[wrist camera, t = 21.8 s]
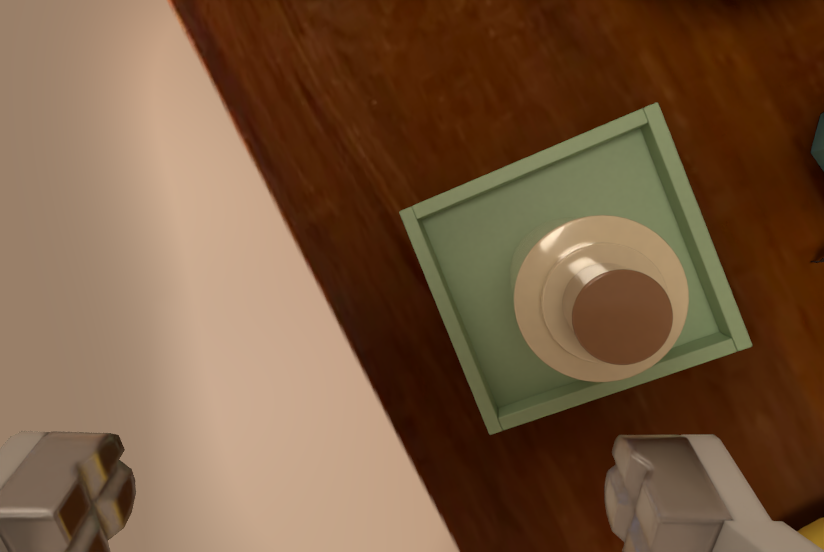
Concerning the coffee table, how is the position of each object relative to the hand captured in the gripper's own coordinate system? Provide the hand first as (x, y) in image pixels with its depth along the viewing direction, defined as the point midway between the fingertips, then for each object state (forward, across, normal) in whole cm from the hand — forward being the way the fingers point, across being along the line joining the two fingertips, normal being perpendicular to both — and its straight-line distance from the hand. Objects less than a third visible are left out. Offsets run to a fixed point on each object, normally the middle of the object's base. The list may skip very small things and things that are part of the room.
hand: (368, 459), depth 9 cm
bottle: (+22, -9, +8) cm, 25 cm away
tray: (+22, -9, +9) cm, 26 cm away
